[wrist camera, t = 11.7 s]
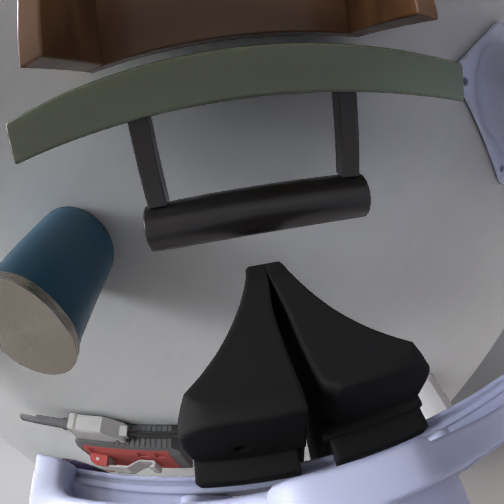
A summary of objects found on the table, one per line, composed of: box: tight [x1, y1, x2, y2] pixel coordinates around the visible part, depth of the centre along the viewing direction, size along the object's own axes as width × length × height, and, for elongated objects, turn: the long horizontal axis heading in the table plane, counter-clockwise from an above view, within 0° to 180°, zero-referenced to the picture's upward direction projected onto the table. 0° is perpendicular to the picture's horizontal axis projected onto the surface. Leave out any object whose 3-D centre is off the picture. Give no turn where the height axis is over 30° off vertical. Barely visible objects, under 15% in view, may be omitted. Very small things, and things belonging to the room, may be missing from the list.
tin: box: [0, 207, 114, 374], centre depth 11 cm, size 5×5×6 cm
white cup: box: [418, 374, 452, 419], centre depth 23 cm, size 7×7×10 cm
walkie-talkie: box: [20, 413, 193, 474], centre depth 22 cm, size 9×4×20 cm
